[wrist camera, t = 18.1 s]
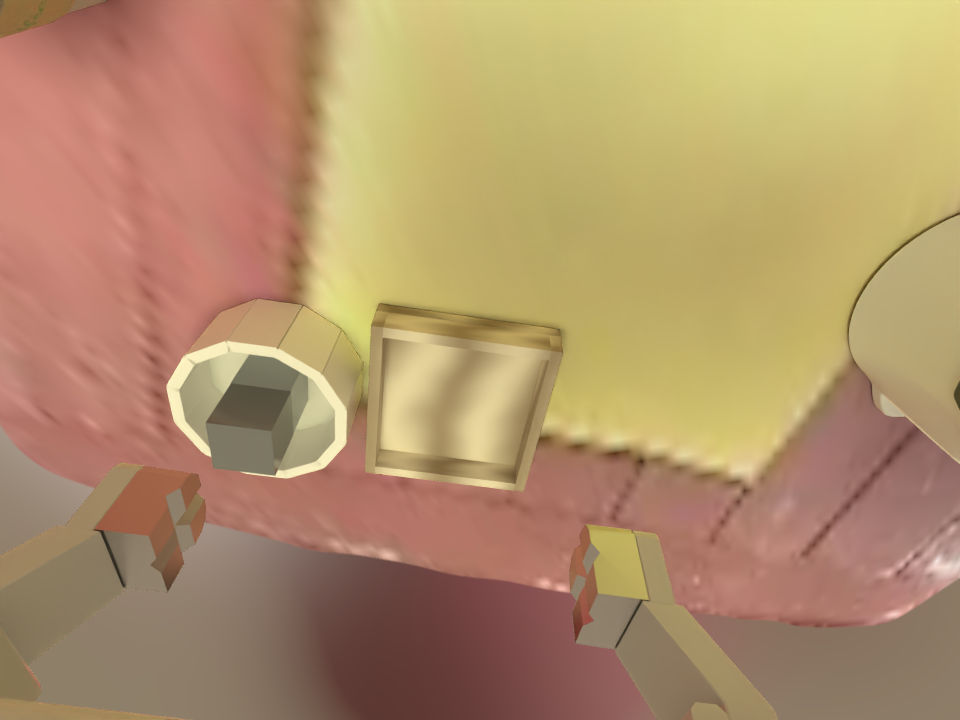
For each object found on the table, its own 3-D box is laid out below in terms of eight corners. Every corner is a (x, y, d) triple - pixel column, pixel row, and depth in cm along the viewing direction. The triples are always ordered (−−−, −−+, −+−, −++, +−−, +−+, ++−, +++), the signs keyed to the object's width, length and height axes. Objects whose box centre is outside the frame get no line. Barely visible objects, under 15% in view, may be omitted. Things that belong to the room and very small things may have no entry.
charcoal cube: (291, 391, 37) (271, 431, 34) (293, 434, 40) (275, 475, 36) (231, 383, 37) (205, 422, 34) (237, 427, 39) (213, 468, 36)
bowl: (364, 313, 40) (347, 357, 35) (360, 436, 46) (345, 485, 42) (193, 289, 39) (153, 331, 34) (214, 417, 46) (184, 465, 41)
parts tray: (559, 329, 40) (563, 352, 37) (521, 464, 48) (523, 491, 45) (379, 303, 39) (371, 325, 37) (371, 446, 47) (364, 472, 45)
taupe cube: (307, 357, 41) (290, 391, 37) (308, 399, 43) (292, 434, 40) (252, 350, 40) (230, 383, 37) (256, 392, 43) (236, 427, 40)
